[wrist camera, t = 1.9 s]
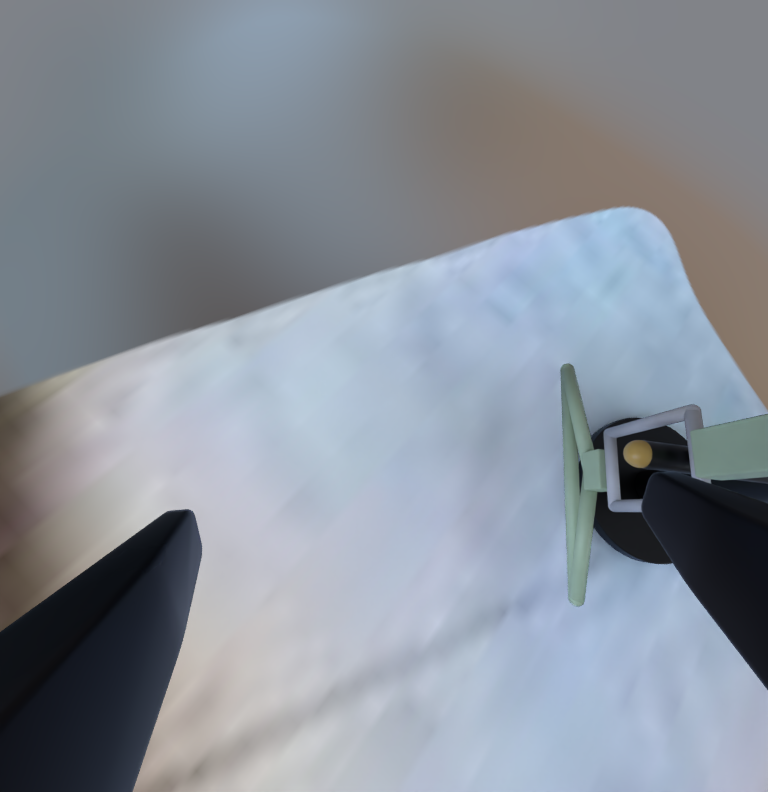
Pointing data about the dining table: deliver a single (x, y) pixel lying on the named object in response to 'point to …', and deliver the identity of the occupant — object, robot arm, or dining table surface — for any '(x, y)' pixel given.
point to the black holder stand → (635, 468)
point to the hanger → (708, 453)
